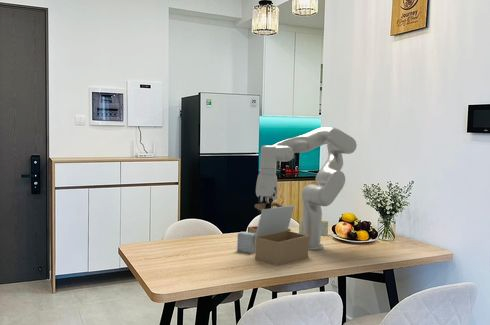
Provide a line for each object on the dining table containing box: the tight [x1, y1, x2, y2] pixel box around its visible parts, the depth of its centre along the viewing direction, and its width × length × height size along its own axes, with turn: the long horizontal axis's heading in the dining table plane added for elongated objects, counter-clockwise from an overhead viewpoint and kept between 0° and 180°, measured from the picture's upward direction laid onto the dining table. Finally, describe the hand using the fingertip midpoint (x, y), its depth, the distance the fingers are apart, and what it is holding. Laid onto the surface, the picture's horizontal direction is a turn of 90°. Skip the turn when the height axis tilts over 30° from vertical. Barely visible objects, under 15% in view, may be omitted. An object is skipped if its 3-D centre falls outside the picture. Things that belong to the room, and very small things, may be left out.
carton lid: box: [254, 201, 295, 237], centre depth 212 cm, size 13×22×9 cm
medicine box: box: [236, 231, 256, 254], centre depth 216 cm, size 8×4×9 cm, turn 65°
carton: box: [254, 230, 310, 267], centre depth 207 cm, size 13×22×10 cm, turn 135°
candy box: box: [298, 219, 329, 237], centre depth 257 cm, size 16×2×8 cm, turn 83°
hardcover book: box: [247, 225, 292, 237], centre depth 253 cm, size 12×21×4 cm, turn 112°
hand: (265, 210), depth 213 cm, fingers closed
